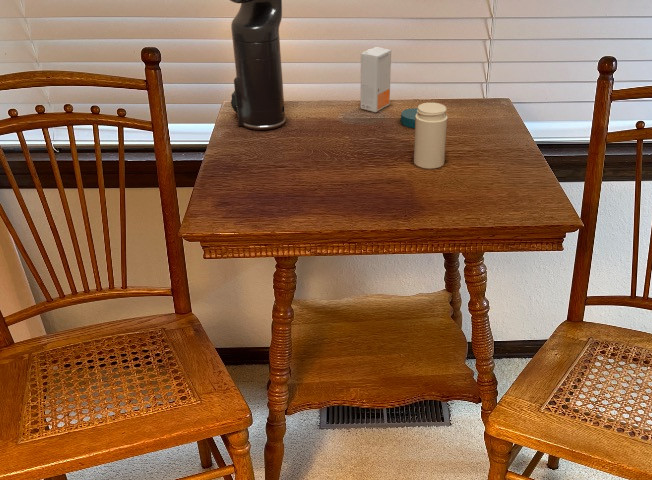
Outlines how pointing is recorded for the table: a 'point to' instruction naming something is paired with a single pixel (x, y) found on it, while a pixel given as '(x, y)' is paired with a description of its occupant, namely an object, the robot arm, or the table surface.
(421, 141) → the white jar
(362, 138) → the table surface
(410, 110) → the jam lid
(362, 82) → the cosmetic box
